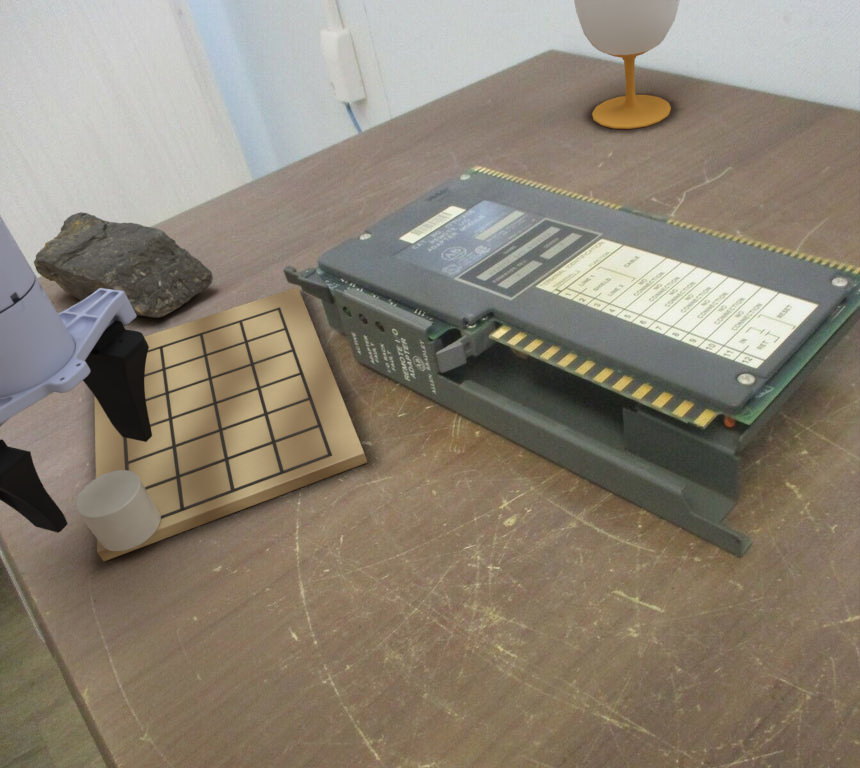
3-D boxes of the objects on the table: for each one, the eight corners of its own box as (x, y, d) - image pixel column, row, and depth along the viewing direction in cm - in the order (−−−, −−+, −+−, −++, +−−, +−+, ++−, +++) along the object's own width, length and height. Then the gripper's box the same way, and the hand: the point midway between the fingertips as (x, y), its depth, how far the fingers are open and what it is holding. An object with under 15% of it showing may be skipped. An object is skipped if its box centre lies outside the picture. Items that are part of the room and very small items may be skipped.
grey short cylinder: (100, 561, 53) (75, 526, 51) (98, 518, 56) (74, 484, 54) (164, 536, 54) (142, 501, 52) (158, 496, 57) (137, 461, 55)
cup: (576, 137, 93) (562, -26, 82) (584, 95, 102) (572, -57, 91) (683, 131, 91) (684, -38, 80) (682, 88, 100) (682, -69, 89)
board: (103, 562, 54) (96, 551, 54) (98, 361, 72) (92, 352, 71) (367, 462, 58) (364, 451, 57) (301, 295, 76) (297, 285, 75)
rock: (-4, 289, 74) (47, 208, 80) (46, 335, 80) (91, 257, 85) (159, 286, 70) (202, 200, 75) (201, 335, 75) (238, 252, 81)
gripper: (-90, 399, 37) (58, 587, 45) (131, 230, 46) (218, 410, 55) (-191, 378, 39) (-32, 559, 48) (39, 221, 49) (136, 395, 58)
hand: (96, 478), depth 52 cm, fingers open, 7 cm apart
